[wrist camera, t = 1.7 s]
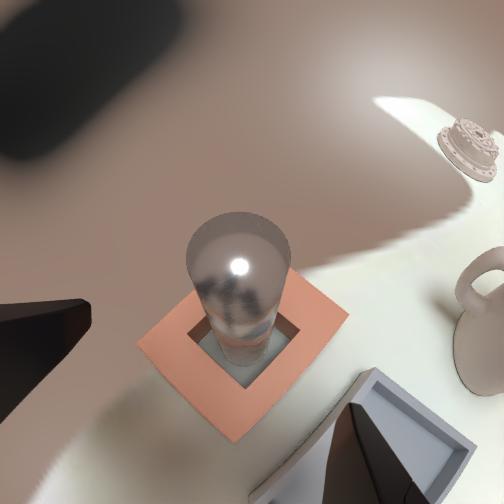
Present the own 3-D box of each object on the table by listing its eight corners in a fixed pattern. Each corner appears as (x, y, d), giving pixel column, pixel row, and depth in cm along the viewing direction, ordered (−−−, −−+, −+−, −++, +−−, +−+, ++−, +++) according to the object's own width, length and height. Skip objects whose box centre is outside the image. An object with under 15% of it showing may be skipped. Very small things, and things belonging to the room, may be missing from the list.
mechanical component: (471, 189, 27) (501, 178, 29) (488, 165, 23) (515, 158, 25) (424, 135, 32) (459, 132, 34) (435, 110, 28) (470, 111, 30)
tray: (365, 559, 10) (377, 572, 7) (248, 495, 13) (248, 507, 11) (457, 445, 14) (477, 446, 12) (361, 372, 18) (375, 367, 15)
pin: (245, 375, 18) (239, 326, 7) (212, 344, 19) (165, 256, 8) (276, 342, 19) (311, 251, 8) (243, 314, 20) (236, 196, 9)
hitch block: (236, 438, 16) (234, 443, 13) (151, 353, 18) (135, 343, 16) (336, 328, 19) (349, 314, 17) (251, 259, 22) (251, 237, 19)
